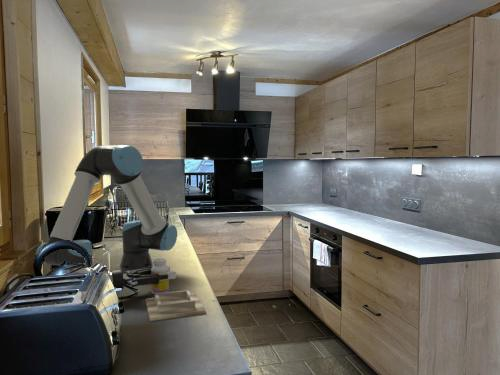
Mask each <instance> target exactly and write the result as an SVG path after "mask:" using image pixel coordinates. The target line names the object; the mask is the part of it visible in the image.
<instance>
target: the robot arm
mask: <svg viewBox="0 0 500 375" xmlns="http://www.w3.org/2000/svg"><path fill="white" fill-rule="evenodd" d="M143 161H144V160H143V156H142V154H141V152H140V151H139V150H138V149H137V148H136V147H135V146H132V145H130V144H129V145H126V144H117V145H99V146H95V147H94V148H92V149H90V150H89V151H88V152H87V153H85V155H84V156H83V157H81V160H80V161H79V163H78V165H77V167H76V169H75V171H74V176H75V178H74V180H73V183H72V185H71V187H70V190H69V192H68V194H67V197H66V198H65V201H64V203H63V206H62V208H61V210H60V212H59V215H58V217H57V220H56V221H55V223H54V224H55V225H54V226H53V228H52V231H51V232H50V235H49V238H48V240H47V241H46V242H43V243H41V244H40V245H39V246H38V247H37V248H36V252H35V256H36V255H37V254H38V253H39V251H40V250H41V249H42V248H43V247H45V246H46V245H48V244H50V243H52V242H55V241H58V240H70V241H73V242H76V243H78V244H80V245H81V246H83V247H84V248H85V249H86V250H87V252H88V254H89V255H90V257H91V265H94V264H93V262H94V261H93V253H94V252H93V248H92V245H93V244H92V241H90V240H88V239H77V240H73V239H74V237H75V235H76V232H77V229H78V228H79V225H80V222H81V220H82V217H83V215H84V214H85V213H84V212H85V211H86V208H87V205H88V203H89V200H90V198H91V196H92V193H93V191H94V188H95V186H96V185H97V184H99V183H100V181H101V179H102V177H104V176H110V177H111V179H112V181H113V182H114V184H115V185H117V186H120V187H121V188H122V191H123V193H124V194H125V197H126V198H127V199H128V202H129V204H130V205H131V207H132V208H133V211H134V212H135V214H136V217H137V218H138V220H132V221H127V222H124V223H123V224H122V231H121V233H122V236H121V238H122V255H121V256H122V257H121V261H120V263H119V269H115V270H111V271H109V270H107V271H108V273H109V276H110V278H111V280H112V281H113V284H114V286H115V287H116V288H122V290H124V287H125V286H130V287H132V288H134V287H138V286H145V285H151V284H156V283H158V284H159V283H160V281H162V280H168V279H169V280H174V279H177V270H173V271H171V266H169V265H168V268H169V272H164V273H159V274H156V275H151V268H152V267H153V266H154V263H153V259H152V257H151V253H150V250H152V251H154V250H155V251H161V252H163V251H170V250H172V249H173V248H174V247H175V244H176V243H177V240H178V229H177V227H176V226H175V225H173V224H169V223H168V221H167V218H166V217H164V216H162V215H160V212H159V210H158V208H157V207H156V204H155V203H154V200H153V199H152V197H151V194H150V192H149V190H148V189H147V186H146V184H145V182H144V181H143V179H142V177H141V175H142V173H143V167H144V163H143ZM65 260H66V261H67V262H68V263H85V260H84V257H83V256H82V255H81V254H80V253H78V252H77V251H76V250H72V249H59V250H56V251H54V252H52V253H51V254H50V255H48V256H47V257H46V259H45V261H44V263H43V264H47V265H48V266H50V265H51V266H59V265H61V264H63V263H64V261H65ZM122 290H121V291H122Z"/></svg>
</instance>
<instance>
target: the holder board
mask: <svg viewBox="0 0 500 375" xmlns="http://www.w3.org/2000/svg"><path fill="white" fill-rule="evenodd" d="M145 304H146V308H147V313H148V320H149V321H150V322H152V321H158V320H159V321H161V320H167V319H173V318H175V319H176V318H181V317H188V316H195V315H196V316H197V315H203V314H207V311H206V310H207V309H205V306H204V305H203V304H202V302H201V300H200V299H199V297H198V295H197V294H196V293H195V292H194V293H193V292H192V293H191V292H190V289H187V290H186V289H185V290H177V291H169V292H166V293H158V294H154V297H151V298H145Z"/></svg>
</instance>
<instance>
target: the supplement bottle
mask: <svg viewBox="0 0 500 375" xmlns="http://www.w3.org/2000/svg"><path fill="white" fill-rule="evenodd" d="M152 262H153V267H152V268H151V275H156V274H159V273H164V272H169V268H168V267H169V265H166V264H167V259H166V258H164V257H163V258H162V257H159V258H155V259H152ZM150 285H151V287H150V289H151V292H150V293H151V294H152V295H155V294H158V293H166V292H170V279H168V280H162V281H160V283H159V284H158V283H156V284H150Z"/></svg>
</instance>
